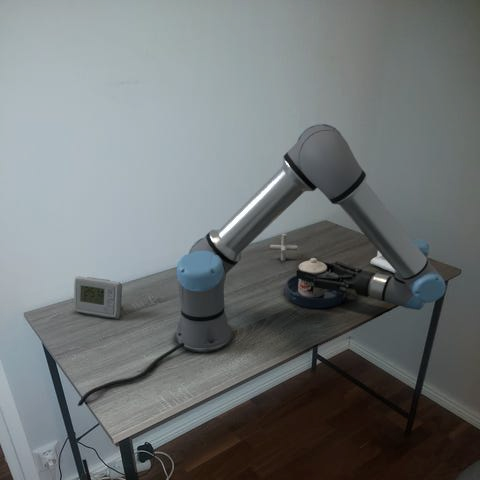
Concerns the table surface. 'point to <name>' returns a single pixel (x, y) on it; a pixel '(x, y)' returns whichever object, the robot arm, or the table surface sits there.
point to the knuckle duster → (382, 263)
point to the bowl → (323, 301)
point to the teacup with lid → (308, 287)
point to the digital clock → (97, 297)
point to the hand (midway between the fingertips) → (304, 268)
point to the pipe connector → (283, 247)
